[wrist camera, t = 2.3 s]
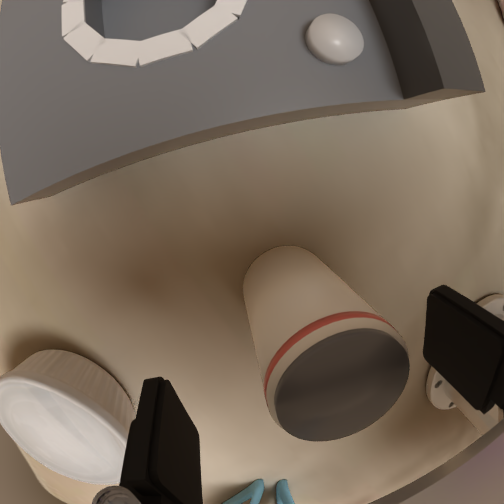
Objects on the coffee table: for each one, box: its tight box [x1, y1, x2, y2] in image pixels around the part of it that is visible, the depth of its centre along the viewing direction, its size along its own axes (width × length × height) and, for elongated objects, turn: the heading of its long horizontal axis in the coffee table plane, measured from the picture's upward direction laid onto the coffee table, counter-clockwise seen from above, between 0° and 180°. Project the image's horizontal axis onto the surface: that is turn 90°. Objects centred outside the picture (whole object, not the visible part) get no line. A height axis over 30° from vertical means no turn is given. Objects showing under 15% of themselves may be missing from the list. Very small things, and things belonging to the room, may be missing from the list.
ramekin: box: [0, 349, 135, 485], centre depth 16 cm, size 11×11×5 cm
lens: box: [243, 246, 409, 441], centre depth 13 cm, size 5×5×9 cm
